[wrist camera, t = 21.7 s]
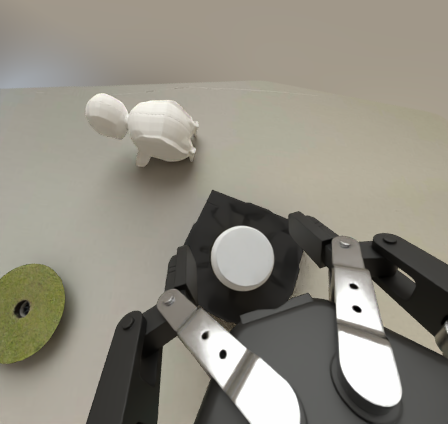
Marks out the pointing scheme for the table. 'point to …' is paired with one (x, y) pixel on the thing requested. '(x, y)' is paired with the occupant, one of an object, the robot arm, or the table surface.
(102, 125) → the white chubby doll
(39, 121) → the table surface
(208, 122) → the table surface
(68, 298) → the table surface
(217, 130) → the table surface
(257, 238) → the pill bottle
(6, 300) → the mat
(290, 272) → the pad
